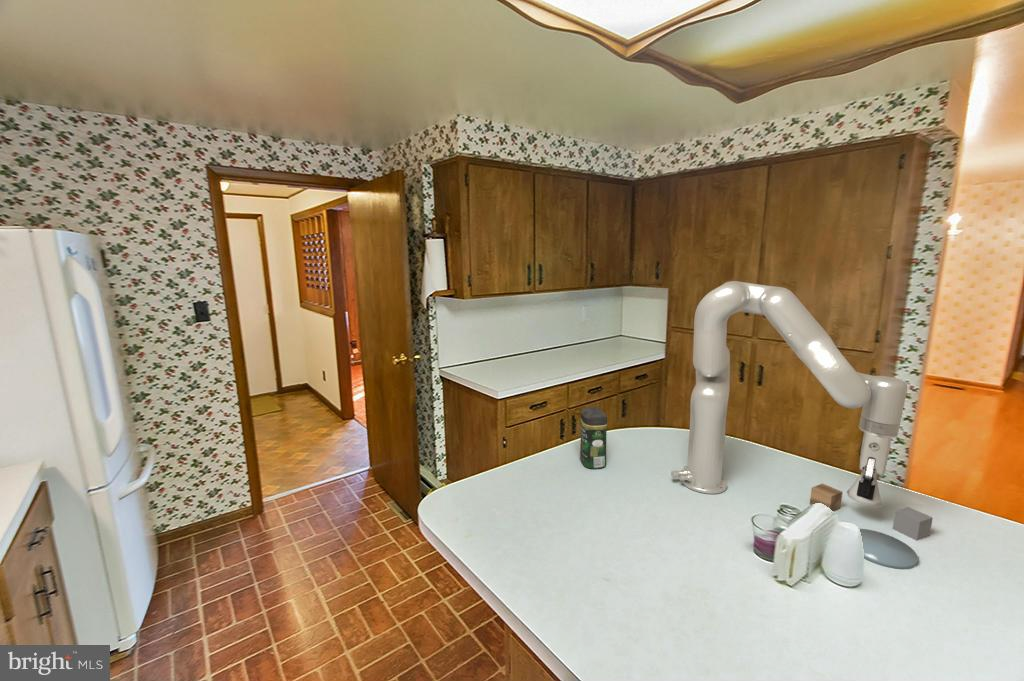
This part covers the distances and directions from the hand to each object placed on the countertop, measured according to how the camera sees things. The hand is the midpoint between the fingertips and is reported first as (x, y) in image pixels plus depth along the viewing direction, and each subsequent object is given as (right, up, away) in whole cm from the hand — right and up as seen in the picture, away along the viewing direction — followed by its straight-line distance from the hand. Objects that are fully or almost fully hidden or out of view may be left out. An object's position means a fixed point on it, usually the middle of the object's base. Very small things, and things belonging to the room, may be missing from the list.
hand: (865, 492), depth 113 cm
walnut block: (-6, -6, +7) cm, 11 cm away
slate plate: (-6, -9, -11) cm, 16 cm away
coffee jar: (-64, -2, +33) cm, 72 cm away
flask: (0, -2, 0) cm, 2 cm away
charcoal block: (+7, -8, -5) cm, 12 cm away
